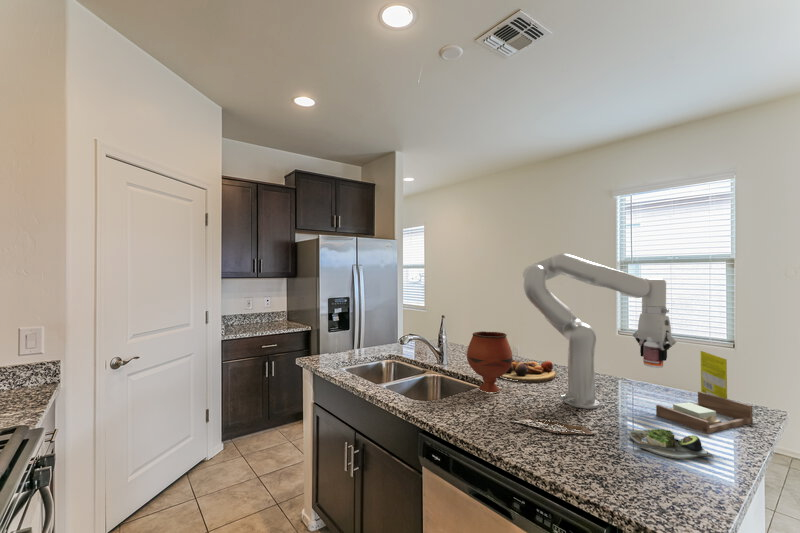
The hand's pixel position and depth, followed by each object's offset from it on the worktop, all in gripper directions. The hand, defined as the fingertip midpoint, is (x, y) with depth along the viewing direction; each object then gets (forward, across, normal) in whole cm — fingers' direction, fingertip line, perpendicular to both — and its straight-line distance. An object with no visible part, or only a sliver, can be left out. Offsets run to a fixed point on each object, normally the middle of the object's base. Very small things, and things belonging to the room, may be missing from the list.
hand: (653, 357), depth 137 cm
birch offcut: (+18, -15, +2) cm, 23 cm away
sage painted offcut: (+15, -15, +2) cm, 21 cm away
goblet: (+21, +39, +46) cm, 64 cm away
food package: (+19, -7, -24) cm, 31 cm away
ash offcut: (+16, -15, +2) cm, 22 cm away
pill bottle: (+3, 0, 0) cm, 3 cm away
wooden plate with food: (+21, +56, +15) cm, 62 cm away
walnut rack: (+19, -15, -3) cm, 24 cm away
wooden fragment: (+21, 0, +49) cm, 53 cm away
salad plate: (+20, -22, +25) cm, 39 cm away
